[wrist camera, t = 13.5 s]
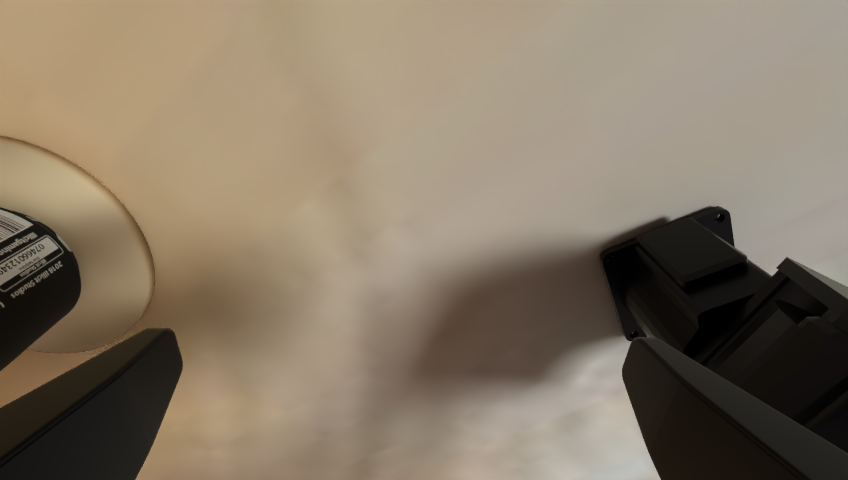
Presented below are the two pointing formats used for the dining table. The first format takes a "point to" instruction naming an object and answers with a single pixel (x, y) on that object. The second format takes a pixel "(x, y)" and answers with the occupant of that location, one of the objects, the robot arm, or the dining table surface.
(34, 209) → the disc
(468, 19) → the dining table surface
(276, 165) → the dining table surface
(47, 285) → the beverage can
